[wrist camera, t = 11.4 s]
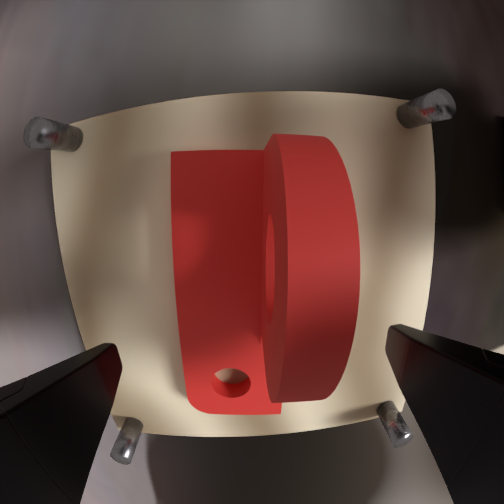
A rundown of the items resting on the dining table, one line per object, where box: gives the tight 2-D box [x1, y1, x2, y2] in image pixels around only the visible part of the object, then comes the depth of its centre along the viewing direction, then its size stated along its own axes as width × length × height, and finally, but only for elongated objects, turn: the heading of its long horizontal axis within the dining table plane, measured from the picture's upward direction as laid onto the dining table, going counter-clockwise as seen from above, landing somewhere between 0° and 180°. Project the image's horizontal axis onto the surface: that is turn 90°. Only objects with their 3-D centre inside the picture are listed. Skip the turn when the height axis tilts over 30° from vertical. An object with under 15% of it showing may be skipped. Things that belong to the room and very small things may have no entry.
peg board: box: [24, 89, 456, 465], centre depth 12 cm, size 18×18×4 cm
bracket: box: [171, 133, 360, 415], centre depth 9 cm, size 12×4×8 cm, turn 179°
